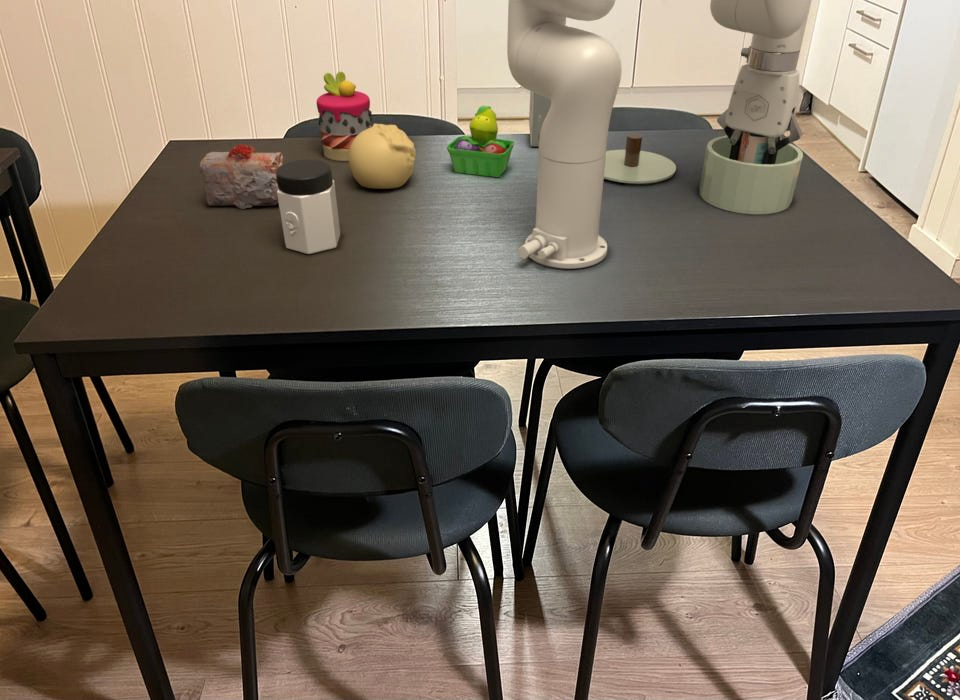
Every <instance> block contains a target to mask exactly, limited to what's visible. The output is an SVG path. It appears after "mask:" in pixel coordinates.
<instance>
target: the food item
mask: <svg viewBox="0 0 960 700" xmlns="http://www.w3.org/2000/svg"><path fill="white" fill-rule="evenodd" d="M232 148H233V149H232V150H231V151H223V152H222V151H221V152H220V151H210V152H208V153H206V154H205V155H204V156H203V157H202V159H201V160H200V162H199V170H200V174H201V177H202V182H203V187H204V191H205V195H206V196H205V197H206V202H207V203H206V204H208V207H217V206H219V207H237V208H238V209H241V210H245V209H249V208H252V207H269V206H271V207H273V206H274V207H275V206H276V205H277V204H279V202H278V196H277V191H278V189H279V188H278V184H277V180H276V170H277V168H278V167H280V166H281V165H283V164H284V163H283V161H284V155H283V153H282V152H281V151H279V152H255V147H254V146H250V145H246V144H238V145H234V146H233V147H232Z"/></svg>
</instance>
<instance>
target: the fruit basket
mask: <svg viewBox="0 0 960 700" xmlns="http://www.w3.org/2000/svg"><path fill="white" fill-rule="evenodd" d="M474 115H475V116H474V117H473V118H472V119H471V120H470V122H469V126H468V127H469V132H470V135H471V136H469V135H460V136H458V137H456V138H455V139H454V140H453V141H451V142H450V143H449V144H448V145H446V149H447V152H448V154H449V157H450V160H451V163H452V167H453V170H454V172H455V173H458V174H459V173H460V174H467V175H478V176H484V177H489V176H490V177H493V178H501V175H503V173H504V172H505V171H506V170H507V169H508V166H509V163H510V159H511V154H512V150H513V148H514V147H515V141H514V140H508V139H502V138H501V139H500V138H498V137H497V135H498V132H499V127H498V121H497V114H496V112H495V111H494V110H493V109H492V106H489V105H481V106H479V108H478V109H477V111H476V113H474Z"/></svg>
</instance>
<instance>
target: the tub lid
mask: <svg viewBox="0 0 960 700" xmlns="http://www.w3.org/2000/svg"><path fill="white" fill-rule="evenodd" d="M642 141H643V135H641V134H639V133H628V134H627V135H626V141H625V149H612V150H611V149H610V150H606V160H605V170H604V180H608V181H612V182H617V183H624V184H637V185H638V184H639V185H640V184H653V183H658V182H659V183H660V182H663V181H666V180H668V179H670V178H672V177H673V176H675V174H676V172H677V166H676V164H675V162H674V161H672V160H671V159H670V158H667V156H664V155H661V154H658V153H656V152H650V151H645V150H642V143H643V142H642Z"/></svg>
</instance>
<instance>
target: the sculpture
mask: <svg viewBox="0 0 960 700" xmlns="http://www.w3.org/2000/svg"><path fill="white" fill-rule="evenodd" d="M416 152H417V151H416V148H415V144H414V142H413V141H412V140H411V139H410V138H409V137H408V135H407V133H406V132H405V131H403V130H402V129H399V128H398V126H397V125H396V124H383V123H373V125H371V128H368V129H366V130H364V131H362V132H361V133H359V134H358V135H357V136H356V137H355V139H354V140H353V142H352V144H351V147H350V151H349V161H348V164H349V168H350V171H351V174H352V176H353V178H354V180H355V181H356V183H358V184H359V185H360V186H361V187H364V188H368V189H376V190H389V189H397V188H401V187H403V185H405V184H406V183H407V182H408V181H409V179H410V177H411V176H412V175H413V172H414V165H415V160H416V157H417V155H416V154H417V153H416Z"/></svg>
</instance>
